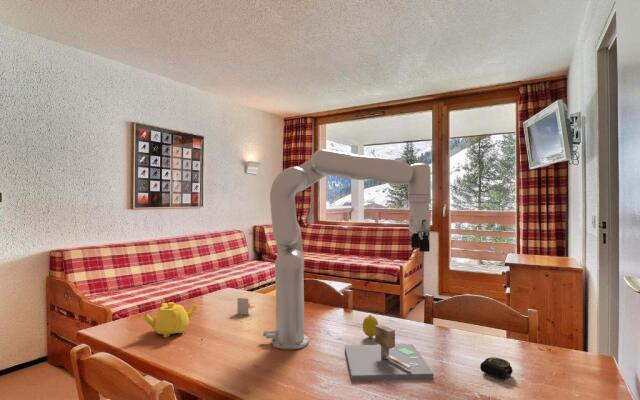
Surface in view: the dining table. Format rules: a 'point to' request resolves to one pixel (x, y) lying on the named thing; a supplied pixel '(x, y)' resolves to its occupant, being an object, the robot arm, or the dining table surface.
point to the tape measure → (497, 368)
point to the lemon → (369, 325)
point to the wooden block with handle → (387, 343)
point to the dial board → (385, 363)
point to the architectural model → (243, 305)
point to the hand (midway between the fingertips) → (420, 249)
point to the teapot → (170, 319)
